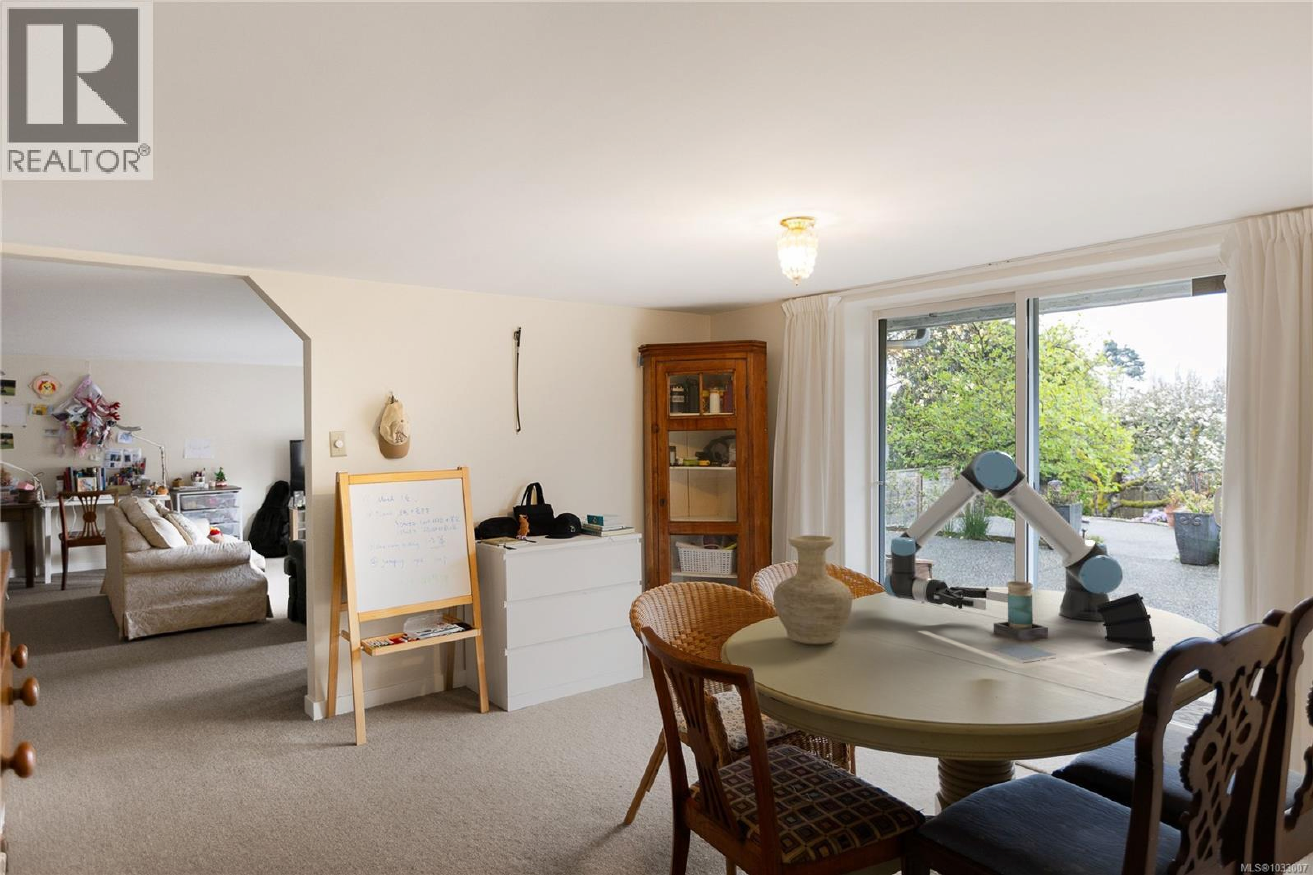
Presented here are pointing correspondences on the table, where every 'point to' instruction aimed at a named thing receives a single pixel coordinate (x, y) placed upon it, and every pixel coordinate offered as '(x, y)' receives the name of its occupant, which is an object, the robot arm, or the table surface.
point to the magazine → (1128, 622)
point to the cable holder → (1021, 633)
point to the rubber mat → (1024, 652)
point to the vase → (812, 595)
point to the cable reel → (1020, 605)
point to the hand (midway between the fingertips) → (996, 601)
